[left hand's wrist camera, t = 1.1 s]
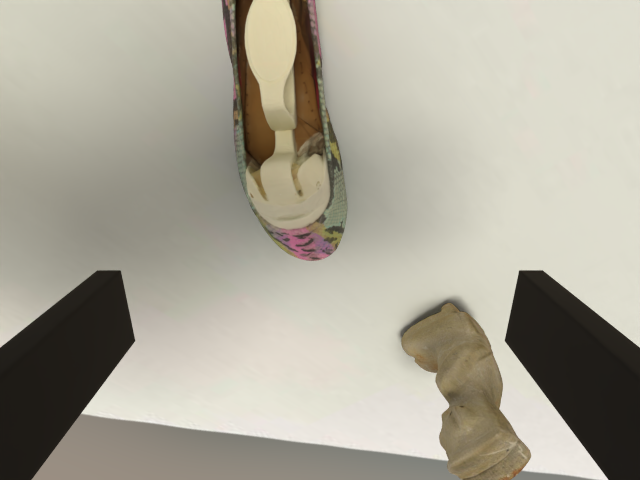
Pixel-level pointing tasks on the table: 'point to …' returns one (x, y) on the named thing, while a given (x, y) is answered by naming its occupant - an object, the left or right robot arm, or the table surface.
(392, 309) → the table surface
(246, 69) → the ballet flat
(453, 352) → the sculpture
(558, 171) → the table surface
